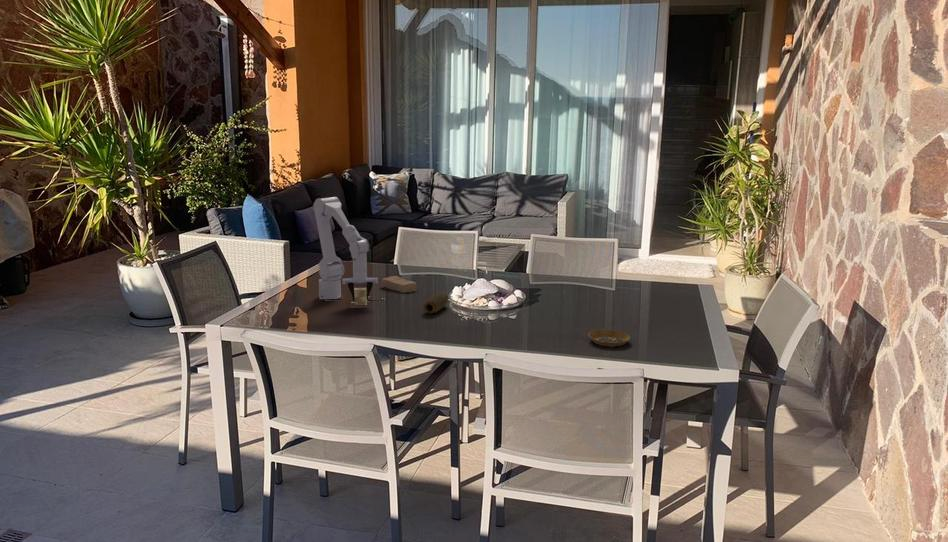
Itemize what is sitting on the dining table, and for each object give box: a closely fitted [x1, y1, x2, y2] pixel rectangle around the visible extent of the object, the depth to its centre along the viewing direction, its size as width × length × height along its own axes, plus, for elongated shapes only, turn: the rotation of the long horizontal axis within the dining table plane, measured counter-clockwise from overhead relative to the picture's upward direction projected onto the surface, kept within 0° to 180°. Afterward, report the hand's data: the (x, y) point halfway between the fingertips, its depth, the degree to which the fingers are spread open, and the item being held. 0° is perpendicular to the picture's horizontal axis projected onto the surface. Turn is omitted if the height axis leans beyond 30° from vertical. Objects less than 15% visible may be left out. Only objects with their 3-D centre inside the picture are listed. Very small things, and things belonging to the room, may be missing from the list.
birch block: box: [354, 287, 368, 305], centre depth 307 cm, size 5×5×6 cm
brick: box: [381, 275, 418, 294], centre depth 337 cm, size 17×8×5 cm, turn 44°
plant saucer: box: [588, 329, 631, 348], centre depth 265 cm, size 15×15×3 cm
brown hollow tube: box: [423, 291, 449, 314], centre depth 303 cm, size 15×7×7 cm, turn 165°
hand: (360, 300), depth 307 cm, fingers closed on birch block, 5 cm apart
